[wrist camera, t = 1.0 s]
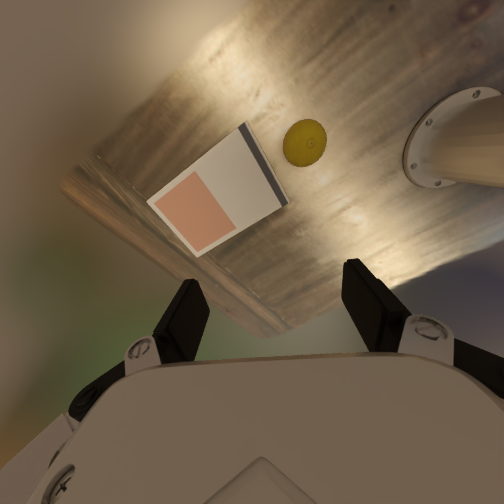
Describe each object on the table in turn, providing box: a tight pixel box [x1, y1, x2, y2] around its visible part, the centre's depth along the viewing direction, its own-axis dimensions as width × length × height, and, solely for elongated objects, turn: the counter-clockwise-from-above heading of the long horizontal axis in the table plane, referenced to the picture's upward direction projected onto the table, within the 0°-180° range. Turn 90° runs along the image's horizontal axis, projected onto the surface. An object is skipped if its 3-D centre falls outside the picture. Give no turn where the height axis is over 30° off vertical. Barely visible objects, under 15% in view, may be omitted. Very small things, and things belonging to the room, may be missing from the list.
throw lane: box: [146, 120, 290, 257], centre depth 32 cm, size 22×14×1 cm, turn 123°
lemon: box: [283, 119, 327, 167], centre depth 24 cm, size 6×6×8 cm
